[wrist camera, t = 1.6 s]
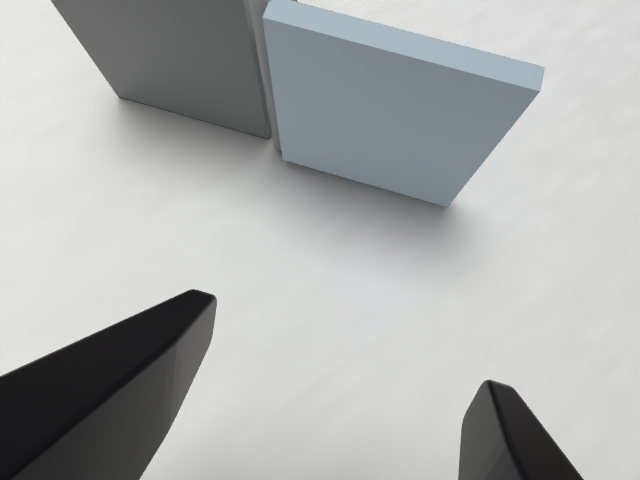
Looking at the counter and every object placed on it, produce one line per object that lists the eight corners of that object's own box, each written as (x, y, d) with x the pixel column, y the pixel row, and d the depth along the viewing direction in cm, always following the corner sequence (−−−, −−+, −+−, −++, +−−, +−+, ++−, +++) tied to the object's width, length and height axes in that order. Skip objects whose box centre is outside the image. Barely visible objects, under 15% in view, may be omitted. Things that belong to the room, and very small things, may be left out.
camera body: (454, 194, 23) (560, 59, 13) (117, 98, 24) (-17, -92, 14) (481, 83, 25) (593, -111, 15) (165, -2, 26) (74, -233, 16)
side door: (447, 206, 22) (539, 91, 13) (268, 155, 23) (239, 11, 14) (453, 183, 22) (547, 55, 13) (276, 133, 23) (252, -22, 14)
